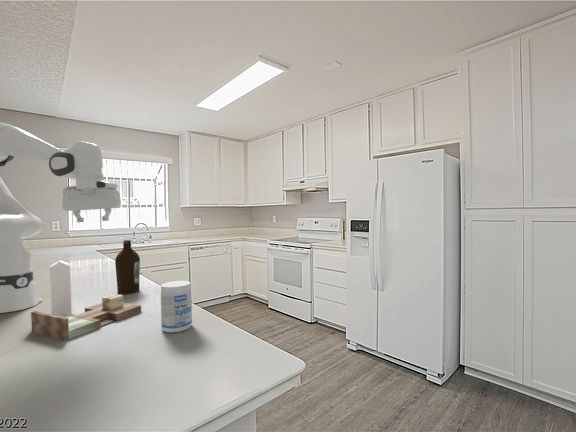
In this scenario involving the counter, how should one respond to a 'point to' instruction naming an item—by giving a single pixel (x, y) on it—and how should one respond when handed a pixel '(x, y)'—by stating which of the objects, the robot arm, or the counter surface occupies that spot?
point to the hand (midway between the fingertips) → (93, 221)
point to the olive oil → (127, 269)
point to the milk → (60, 288)
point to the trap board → (79, 320)
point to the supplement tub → (176, 306)
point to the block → (112, 301)
